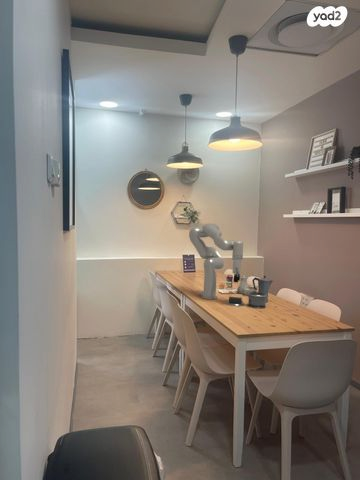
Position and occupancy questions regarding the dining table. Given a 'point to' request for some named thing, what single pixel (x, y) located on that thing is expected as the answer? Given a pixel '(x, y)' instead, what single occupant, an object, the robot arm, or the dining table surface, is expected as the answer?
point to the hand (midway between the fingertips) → (236, 281)
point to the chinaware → (245, 286)
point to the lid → (235, 301)
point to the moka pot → (263, 285)
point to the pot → (257, 300)
